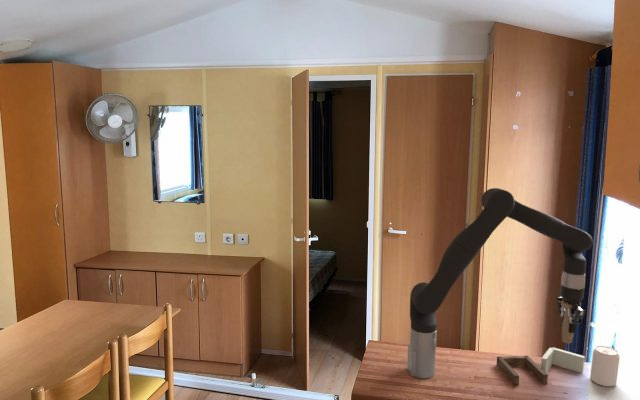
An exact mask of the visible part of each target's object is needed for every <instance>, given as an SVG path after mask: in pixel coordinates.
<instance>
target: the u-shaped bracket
mask: <svg viewBox="0 0 640 400" xmlns="http://www.w3.org/2000/svg"><path fill="white" fill-rule="evenodd" d="M496 366H497V368H498V367H499V368H498V369H499V370H500V371H501V372H502V373H503V374H504V376H505V377H507V379H508V380H509V381H510V382H511V383H512V384H513V386H519V385H520V384H519V383H520V375H519V373H517V372H516V370H514V367H516V368H517V367H518V366H521V367H525V368H526V367H527V368H528V369H529V370H530V371H531V372H532V373H533V374H532V373H531V372H530V371H529V370H528V369H527V368H526V369H527V370H528V371H529V372H530V373H531V374H532V375H533V376H534V377H535V378H536V379H537V380H538V381H539V382H540V383H541V384H542V385H547V384H548V377H549V375H548V374H549V373H548V372H544V371H543V370H542V369H541V366H539V365H538V364H537V363H536V362H535V361H534V360H533V359H532V358H531V357H529V355H508V356H504V355H503V356H497V357H496Z"/></svg>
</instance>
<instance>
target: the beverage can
mask: <svg viewBox="0 0 640 400" xmlns="http://www.w3.org/2000/svg"><path fill="white" fill-rule="evenodd" d="M620 358H621V357H620V355H619V351H618V350H617V349H615V348H614V347H610V346H608V345H607V346H606V345H596V346H595V348H594V349H593V351H592V359H591V365H590V366H591V368H590V375H589V377H590V379H591V381H593V382H594V383H596V384H597V385H600V386H603V387H614V386H616V385H617V382H618V381H617V380H618V373H619V365H620Z"/></svg>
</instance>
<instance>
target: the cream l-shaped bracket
mask: <svg viewBox="0 0 640 400" xmlns="http://www.w3.org/2000/svg"><path fill="white" fill-rule="evenodd" d="M585 358H586V356H585V355H582V354H577V353H575V352H571V351H568V350H563V349H561V348H557V347H554V346H553V347H549V348H548V349H547V350H546V351H545V353H544V354H543V356H542V357H541V362H540V368H541V369H542V370H543V371H544V372H546V373H548V371H549V370H550V368H551V367H552V366H553V365H554V366H557V367H561V368H564V369H567V370H570V371H574V372H578V373H581V374H583V372H584V369H585V367H584V366H585Z"/></svg>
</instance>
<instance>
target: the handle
mask: <svg viewBox="0 0 640 400" xmlns="http://www.w3.org/2000/svg"><path fill="white" fill-rule="evenodd" d="M568 304H569V303H567V302H564V300H563V301H561V305H562V306H563V307H564V308H565V313H564V319H563V325H562V327H561V342H563V343H565V344H571V343H573V339H574V334H575V333H569V332H568V330H569V323H570V320H569V316H568V307H570V308H572V305H568ZM581 306H582V303H581V302H580V308H581ZM571 314H575V313H571ZM573 319H574V317H573Z"/></svg>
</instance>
